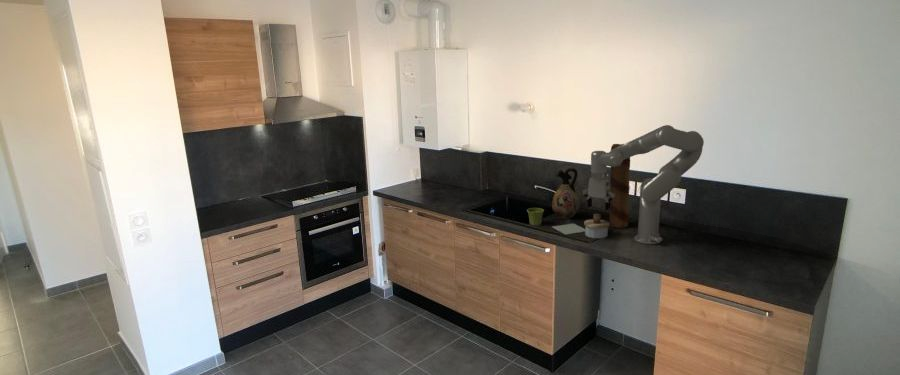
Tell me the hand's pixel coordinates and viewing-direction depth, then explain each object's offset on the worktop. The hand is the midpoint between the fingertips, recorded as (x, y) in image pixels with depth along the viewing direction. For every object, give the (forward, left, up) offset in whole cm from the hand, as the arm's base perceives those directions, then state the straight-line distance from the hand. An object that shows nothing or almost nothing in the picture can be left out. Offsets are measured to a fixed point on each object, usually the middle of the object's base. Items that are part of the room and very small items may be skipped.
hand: (598, 208), depth 254 cm
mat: (+14, +7, -15) cm, 22 cm away
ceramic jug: (+35, -4, -15) cm, 38 cm away
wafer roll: (+10, -21, -15) cm, 28 cm away
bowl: (0, 0, -15) cm, 15 cm away
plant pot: (+30, +19, -15) cm, 39 cm away
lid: (0, 0, -9) cm, 9 cm away
